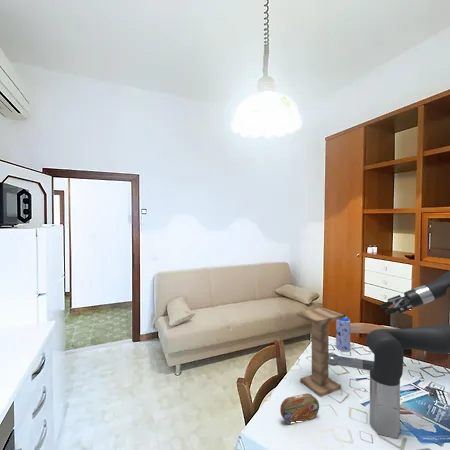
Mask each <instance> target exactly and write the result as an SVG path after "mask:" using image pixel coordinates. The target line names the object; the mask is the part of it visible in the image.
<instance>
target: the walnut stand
mask: <svg viewBox="0 0 450 450" xmlns="http://www.w3.org/2000/svg"><path fill="white" fill-rule="evenodd" d="M343 314H344V313H341V312H340V313H339V312H337V311H333V310H331V309H328V308H325V307H318V308H313V309H307V310H303V311H297V312H296V317H299V318H301V319H303V320H305V321H308V322H309V323H311V374H310V375H307V376H304V377H302V378H300V379H299V380H300V381H299V382H300V383H301V384H302V385H303V386H305V387H306V388H308V390H310V391H312V392H313V393H314V394H316V395H317V396H318V397H320V398H322V397H325V396H326V395H329V394H332V393H334V392H337V391H340V390H342V387H341V386H342V385H341V384H340V383H337V382H336V381H334V380H332V379H331V378H330V376H329V366H330V365H329V353H330V352H329V343H330V342H329V337H330V336H329V331H330V329H329V323H331V322H334V321H335V322H336V320H339V319H344V315H343Z"/></svg>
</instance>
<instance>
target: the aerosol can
mask: <svg viewBox="0 0 450 450" xmlns="http://www.w3.org/2000/svg"><path fill="white" fill-rule="evenodd" d="M342 314H343V315H344V319H339V320H335V333H336V334H335V335H336V336H335V337H336V338H335V349H336V348H337V349H338V351H339V350H340V351H339V352H342V353H349V352H351V350H352V349H351V319H349V317H348V316H346V314H345V313H342ZM337 349H336V350H337Z"/></svg>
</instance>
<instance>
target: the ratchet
mask: <svg viewBox="0 0 450 450" xmlns="http://www.w3.org/2000/svg"><path fill="white" fill-rule="evenodd" d="M372 365H374V360H368V359H362V358H356V357H346V356H341V355H337V354H336V353H334V352H332V351H330V352H329V366H333V367H334V366H341V367H345V368H353V369H357V370H359V369H360V370H366V371H370V367H371V366H372Z"/></svg>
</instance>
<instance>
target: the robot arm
mask: <svg viewBox="0 0 450 450" xmlns="http://www.w3.org/2000/svg"><path fill="white" fill-rule="evenodd" d="M447 289H450V270H449V271H447V272H445V273H443V274H441V276H439V277H438V278H436V279H435V280H433V281H431V282H429V283H427V284H424V285H420V286H418V287H415V288H411V289H409V290H407V291H405V292H403V296H401V294H399V295H395V296H393V297H390V298H387V301H385V302H382V303H380V308H381V309H383V310H384V309H385V313H386V315H392V314H394V313H398V314H401V313H405V312H408V311H410V310H412V309H413V308H417V307H420V306H423V305H426V304H428V303H431V302H433V301H435V300H437V299H440V298H442V297H446V295H447ZM391 306H392V307H391ZM388 307H390V308H388ZM386 308H387V309H386ZM365 344H366V346H367V347H368V349H369V350H370V351H371V353H372V354H373V355H374V358H373V359H374V360H373V361H374V365H372V366H371V367H370V370H369V425H370V426H371V428H372V429H373V430H374V431H375V432H376V435H377V434H378V435H381V436H385V437H390V438H394V439H398V438H399V435H400V434H401V393H400V392H401V378H402V376H403V373H404V355H405V354H404V350H416V351H423V352H427V353H432V354H433V353H435V354H450V323H440V324H434V325H426V326H425V325H424V326H417V327H415V326H414V327H407V328H376V329H374V330H372V331H370V332H369V333H367V335H366V337H365Z"/></svg>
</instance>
